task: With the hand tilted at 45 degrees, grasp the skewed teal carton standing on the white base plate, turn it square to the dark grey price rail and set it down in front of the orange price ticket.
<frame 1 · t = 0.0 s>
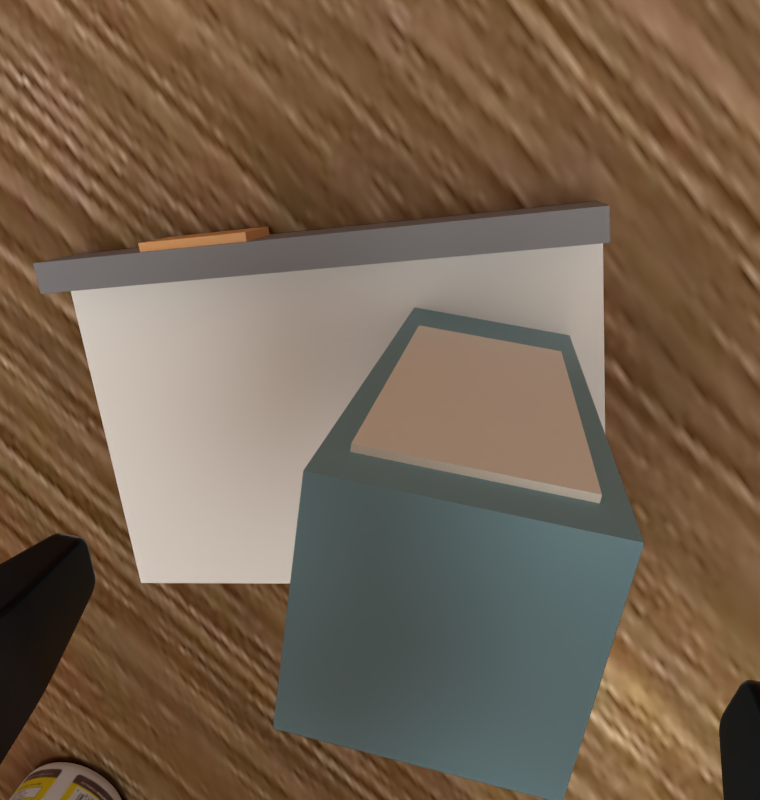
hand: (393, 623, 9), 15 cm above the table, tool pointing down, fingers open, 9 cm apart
ticket: (223, 235, 24), on the table
carton: (476, 394, 23), point 1 cm above the table, touching white base plate
white base plate: (344, 410, 25), on the table
supplement bottle: (82, 796, 35), on the table
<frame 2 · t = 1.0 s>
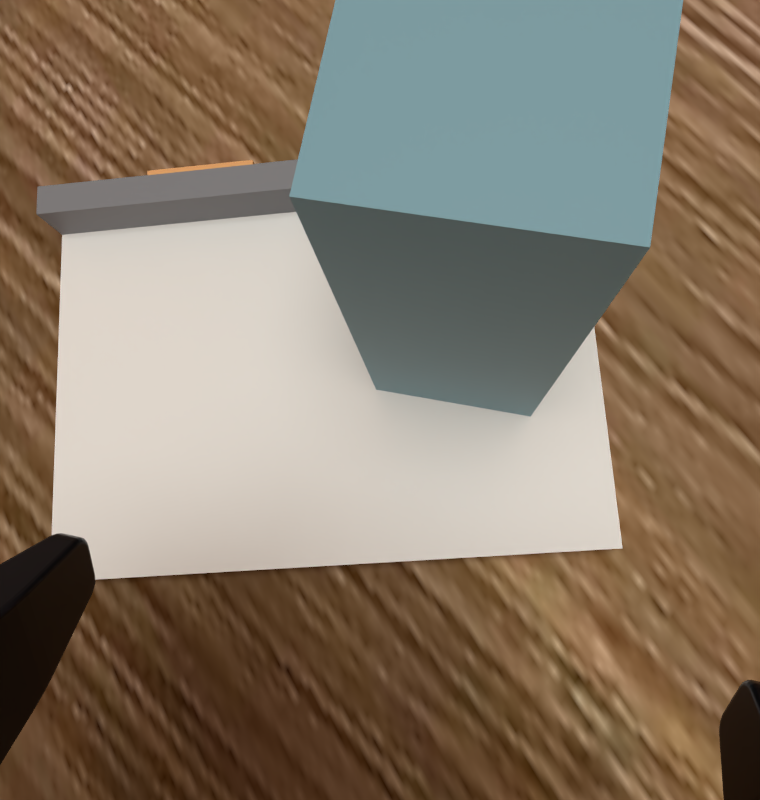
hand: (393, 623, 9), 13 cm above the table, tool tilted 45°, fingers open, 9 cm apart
ticket: (223, 206, 26), on the table
carton: (465, 329, 23), point 1 cm above the table, touching white base plate
white base plate: (324, 372, 24), on the table
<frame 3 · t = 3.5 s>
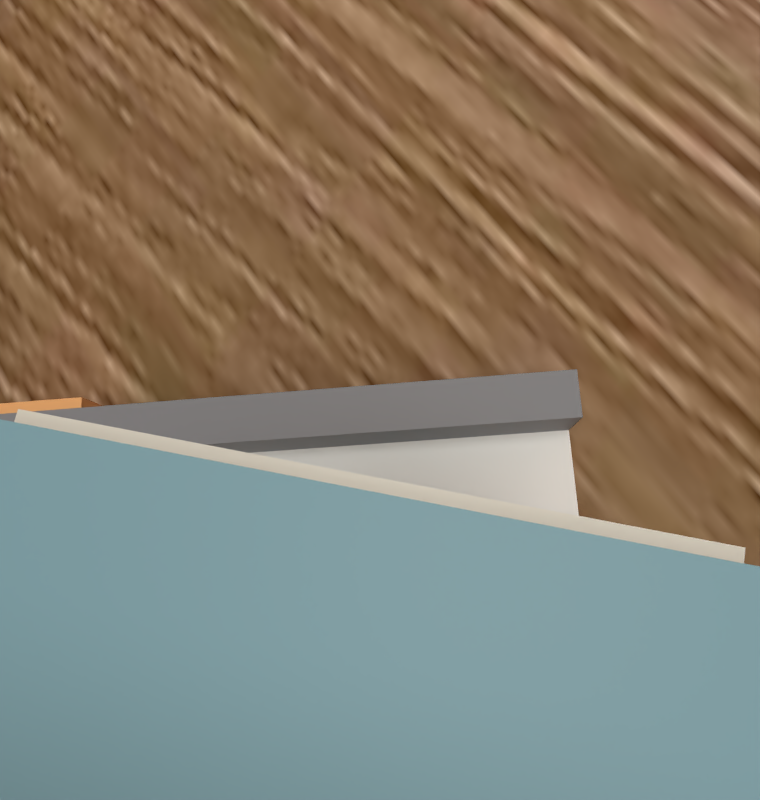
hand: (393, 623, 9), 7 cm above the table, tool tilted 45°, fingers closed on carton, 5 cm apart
ticket: (65, 429, 18), on the table
carton: (400, 661, 15), point 1 cm above the table, touching gripper, white base plate
white base plate: (197, 697, 16), on the table
when the fingers open (8 cm above the table, at t = 7.7 s): carton drops 1 cm, resting on white base plate.
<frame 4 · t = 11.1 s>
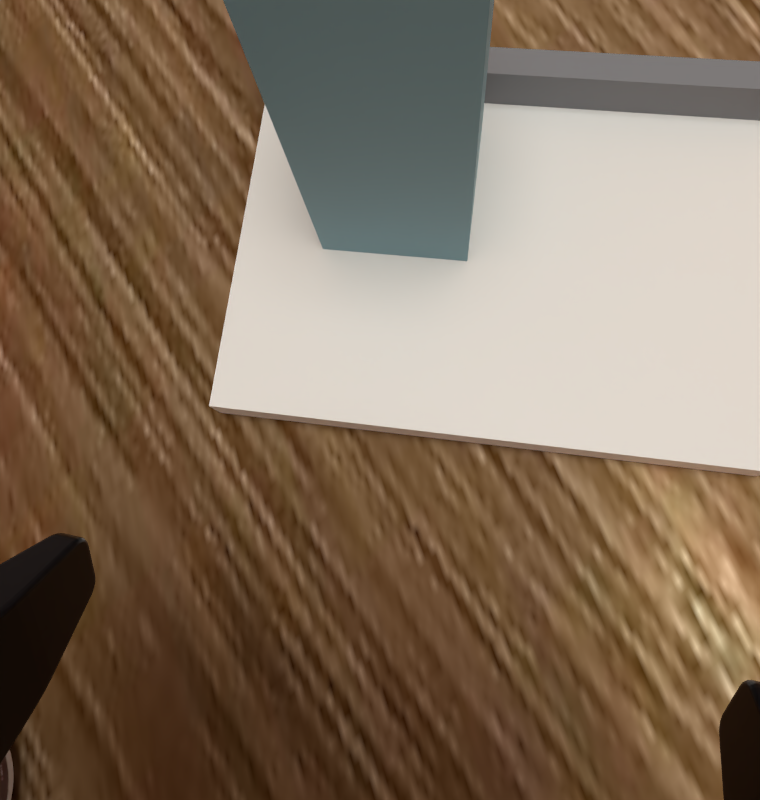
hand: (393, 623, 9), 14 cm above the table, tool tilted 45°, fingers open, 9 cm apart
carton: (403, 188, 24), point 1 cm above the table, touching white base plate
white base plate: (495, 263, 25), on the table
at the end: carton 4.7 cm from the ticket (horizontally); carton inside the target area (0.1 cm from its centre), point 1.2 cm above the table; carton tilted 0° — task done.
